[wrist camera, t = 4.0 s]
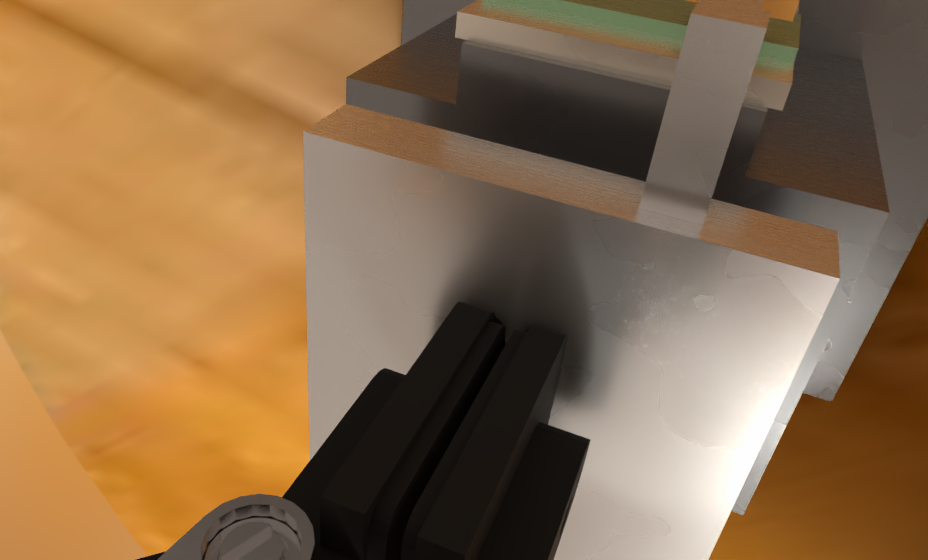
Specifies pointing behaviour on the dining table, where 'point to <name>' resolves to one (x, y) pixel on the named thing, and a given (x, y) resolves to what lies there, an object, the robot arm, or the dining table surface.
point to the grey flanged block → (580, 290)
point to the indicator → (777, 8)
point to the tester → (753, 140)
